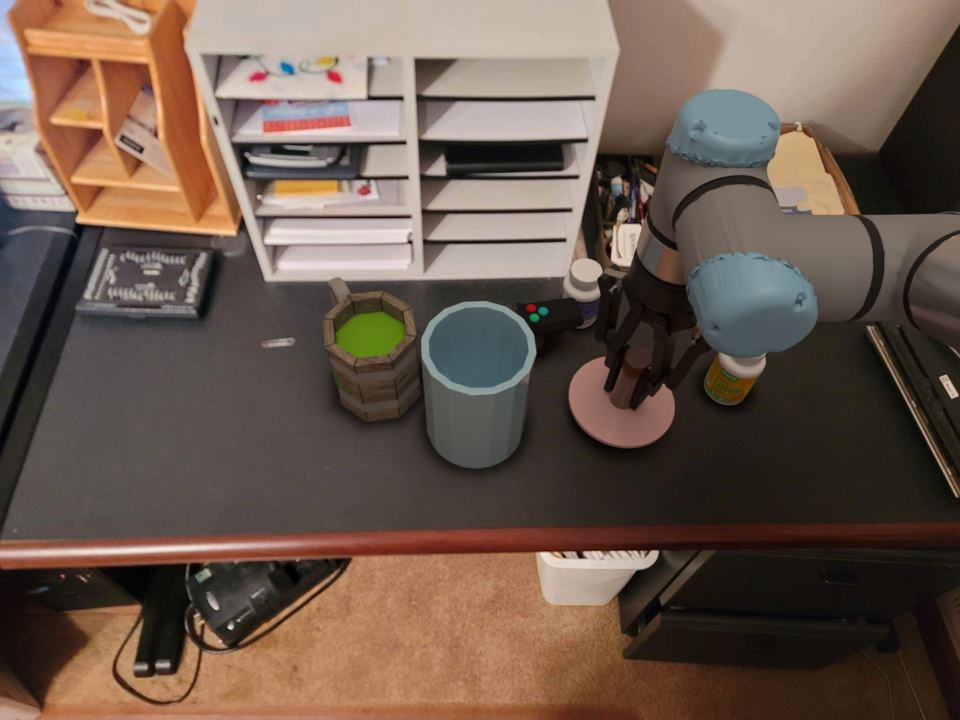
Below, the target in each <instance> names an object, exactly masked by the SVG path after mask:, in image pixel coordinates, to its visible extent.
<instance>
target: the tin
mask: <svg viewBox="0 0 960 720" xmlns="http://www.w3.org/2000/svg"><path fill="white" fill-rule="evenodd" d="M420 349H421V350H420V352H421V367H422V380H423V393H424V406H425V420H426V432H427V436H428V439H429V441H430V443H431V445H432V446H433V448H434V450H435V451H436V452H437V454H439V455H440V456H441V457H442V458H443V459H445V460H446V461H448V462H450V463H451V464H453V465H456V466H459V467H461V468H467V469H484V468H485V469H486V468H489V467H493V466H495V465H496V466H497V465H498V464H501V463H502V462H504V461H505V460H507V459H508V458H509V457H511V456H512V455H513V454H514V453H515V451H516V450H517V448H518V447H519V445H520V443H521V440H522V437H523V433H524V431H525V427H526V421H527V414H528V408H529V403H530V395H531V391H532V390H531V389H532V383H533V377H534V371H535V366H536V365H535V364H536V359H537V357H536V345H535V338H534V334H533V332H532V331H531V329H530V328H529V326H528V325H527V323H526V322H525V320H524V319H523V318H522V317H520V316H519V315H517V314H516V313H515V312H513V311H512V310H510V309H509V308H507V307H505V306H502V305H501V304H497V303H494V302H491V301H487V300H480V301H479V300H477V301H462V302H460V303H457V304H454V305H450V306H448V307H445V308H444V309H443V310H441V311H440V312H439V313H438V314H437V315H436V316H434V317H433V318H432V319H431V320H430V321H429V322H428V324H427V326H426V328H425V330H424V332H423V334H422V336H421V338H420Z"/></svg>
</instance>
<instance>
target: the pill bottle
mask: <svg viewBox="0 0 960 720" xmlns="http://www.w3.org/2000/svg"><path fill="white" fill-rule="evenodd" d="M602 273H603V268H602V265H601V264H600V263H599V262H598V261H596V260H593V259H591V258H585V257H584V258H579V259H576V260H575V261H574V262H572V263H571V266H570V270H569V272H568V273H567V274H566V275H565V277H564V278H563V282H562V285H561V286H562V287H561V292H560V297H559V299H563V298H571V297H572V298H574V299H576V300H577V302H578V304H579V306H580V308H581V311H582V313H583V317H584V323H583V325H582V326H579V327H576V328H575V329H585V328H588V327H590V326H592V325H593V324H594V323H595V321H597V315H598V308H599V300H600V290H599V286H598V282H597V279H598V277H599V276H600V275H601V274H602Z"/></svg>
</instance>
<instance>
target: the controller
mask: <svg viewBox="0 0 960 720" xmlns="http://www.w3.org/2000/svg"><path fill="white" fill-rule="evenodd" d="M500 305H502V306H505V307H507V308H509V309H510V310H512V311H513V312H515V313H516V314H517V315H519V316H520V317H522V318H523V319H524V320H525V322H526V323H527V325H528V326H529V328H530V329H531V331H532V332H533V334H534V338H535V345H536V358H537V357H540V356H541V355H544V354H545V353H547V352H549V351H550V350H552V349H553V348H554V347H556V346H557V344H558V343H559V342H560V341H561V339H562V337H563V335H564V334H565V332H568V331H569V330H573V329H577V328H576V327H579V326H582V325H583V323H584V317H583V313H582V311H581V308H580V306H579V304H578V302H577V300H576V299H574V298H572V297H571V298H563V299H560V298H557V299H549V300H541V301H535V302H527V303H523V302H515V301H513V300H511V299H506V300H503V301H502V302H501V303H500Z"/></svg>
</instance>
